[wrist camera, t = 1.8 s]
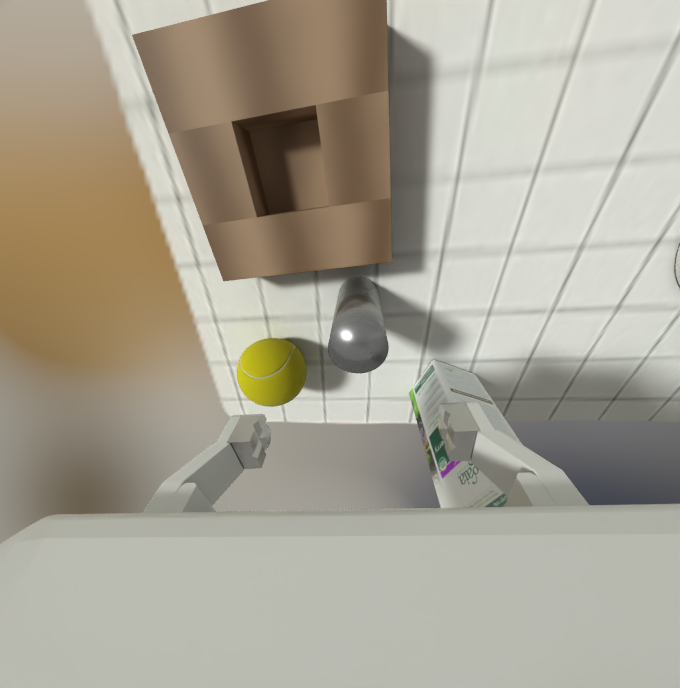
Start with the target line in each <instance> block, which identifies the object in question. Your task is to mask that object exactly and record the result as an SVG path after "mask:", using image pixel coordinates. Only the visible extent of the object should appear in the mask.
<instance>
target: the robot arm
mask: <svg viewBox="0 0 680 688" xmlns="http://www.w3.org/2000/svg"><path fill="white" fill-rule="evenodd" d="M676 277H677V280H678V283H679V285H680V247H679V249H678V253H677V258H676ZM439 411H440V414H441V415H440V416H439V417H438V429H439V433H440V436H441V439H443V440H444V441H445V450H446V452H447V455H448V458H449V460H450V461H471V463H472V464H474V465H475V466H476V467H477V468H478V469H479V470H480V471H481V472H482V473H483V474H484V475H485V476H486V477H487V478H488V479H489V480H490V481H491V482H493V483H494V484H495V485H496V486H497V487H498V488H499V489H500V490H501V491H502V492H503V493H504V494H505V495H506V496H507V497H508V499H507V502H506V505H505V507H472V508H422V509H421V508H419V509H418V508H415V509H360V510H302V511H244V512H216V511H215V510H214V508H213V507H212V505H213V504H214V503H215V502H216V501H217V500H218V499H219V497H220V496H221V495H222V494H223V493H224V492H225V491H226V490H227V488H228V487H229V486H230V485H231V484H232V483H233V482H234V481H235V480H236V478H237V477H238V476H239V475H240V474H241V473H242V472H243V470H244V469H252V468H262V465H263V462H264V459H265V456H266V453H265V451H264V450H265V449H267V448H268V447H269V444H270V441H271V430H270V427H269V426H268V425H267V424H265V423H266V420H267V419H266V417H265V415H263V414H254V415H233V416H232V417H230V419H229V421H228V423H227V424H226V426H225V428H224V430H223V432H222V433H221V435H220V437H219V439H218V440H217V442H216V444H212V445H211V446H209V447H208V448H207V449H205V450H204V451H203V452H202V453H201V454H199V455H198V456H196V457H195V458H194V459H192V460H191V461H190V462H189V463H187V464H186V465H185V466H183V467H182V468H181V469H179V470H178V471H177V472H176V473H175V474H173V475H172V476H171V477H169V478H168V479H167V480H165V481H164V482H163V483H162V484H161V486H160V487H159V489H158V490H157V492H156V493H155V495H154V496H153V498H152V499H151V500H150V502H149V503H148V505H147V507H146V508H145V509H144V511H143V512H142V513H126V514H125V513H124V514H58V515H51V516H48V517H45V518H42V519H41V520H39V521H37V522H36V523H34V524H32V525H30V526H28V527H27V528H25V529H23V530H21V531H20V532H18V533H17V534H15V535H14V536H12V537H10V538H9V539H7V540H5V541H4V542H2V543H1V544H0V688H680V504H645V505H594V506H593V505H588V503H587V502H586V501H585V499H584V498H583V497H582V495H581V494H580V493H579V491H578V490H577V489H576V488H575V486H574V485H573V484H572V482H571V481H570V480H569V478H568V477H567V476H566V474H565V473H564V472H563V471H562V470H561V469H559V468H558V467H556V466H554V465H553V464H551V463H550V462H548V461H547V460H545V459H543V458H542V457H540V456H538V455H537V454H536V453H534V452H532V451H531V450H529V449H528V448H526V447H524V446H523V445H521V444H520V443H518V442H517V441H515V440H513V439H512V438H510V437H509V436H507V435H506V434H504V433H502V432H501V431H499V430H495V429H494V427H493V426H492V424H491V423H490V421H489V419H488V418H487V416H486V414H485V413H484V411H483V410H482V408H481V406H480V405H479V403H478V402H477V401H469V402H455V403H440V405H439Z"/></svg>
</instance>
